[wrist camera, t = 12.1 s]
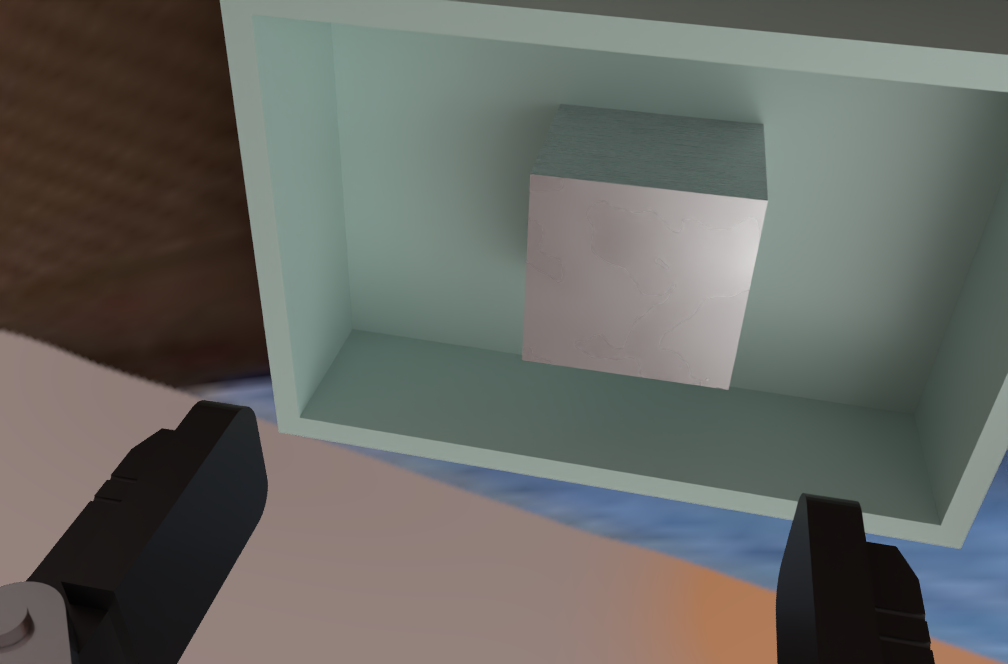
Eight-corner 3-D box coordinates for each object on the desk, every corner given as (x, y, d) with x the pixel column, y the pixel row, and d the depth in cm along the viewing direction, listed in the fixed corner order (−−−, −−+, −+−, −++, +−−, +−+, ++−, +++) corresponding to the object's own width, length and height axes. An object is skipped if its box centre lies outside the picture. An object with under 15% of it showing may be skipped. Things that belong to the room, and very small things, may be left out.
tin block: (560, 103, 28) (530, 173, 24) (763, 124, 27) (767, 200, 23) (549, 274, 32) (521, 360, 28) (729, 296, 31) (728, 389, 27)
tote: (308, -74, 27) (216, -22, 23) (1094, -6, 24) (1183, 71, 19) (340, 331, 36) (278, 432, 31) (927, 421, 33) (960, 549, 28)
